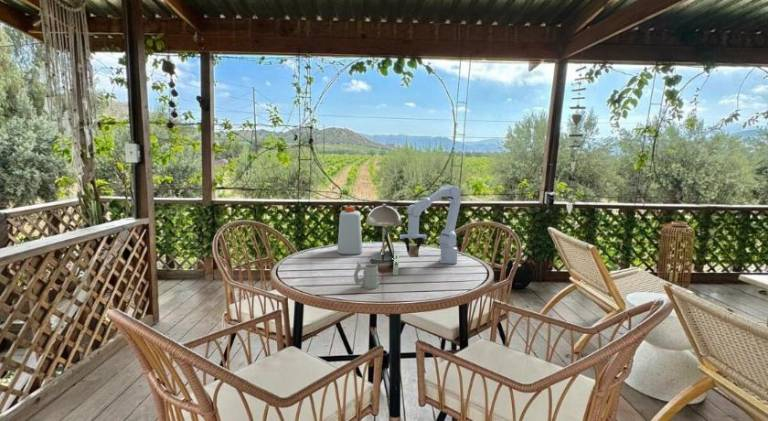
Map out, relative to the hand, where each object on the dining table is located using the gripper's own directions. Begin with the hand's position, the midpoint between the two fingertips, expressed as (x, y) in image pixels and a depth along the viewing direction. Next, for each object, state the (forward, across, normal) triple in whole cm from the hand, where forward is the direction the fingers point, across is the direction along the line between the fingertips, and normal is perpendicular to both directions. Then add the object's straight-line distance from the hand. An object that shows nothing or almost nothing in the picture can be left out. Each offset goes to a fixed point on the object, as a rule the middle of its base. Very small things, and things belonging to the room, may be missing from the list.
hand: (412, 251), depth 205 cm
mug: (+9, +27, +28) cm, 40 cm away
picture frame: (+9, +11, -23) cm, 27 cm away
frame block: (+2, 0, 0) cm, 2 cm away
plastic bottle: (+9, +33, -32) cm, 47 cm away
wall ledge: (+9, +9, 0) cm, 12 cm away
